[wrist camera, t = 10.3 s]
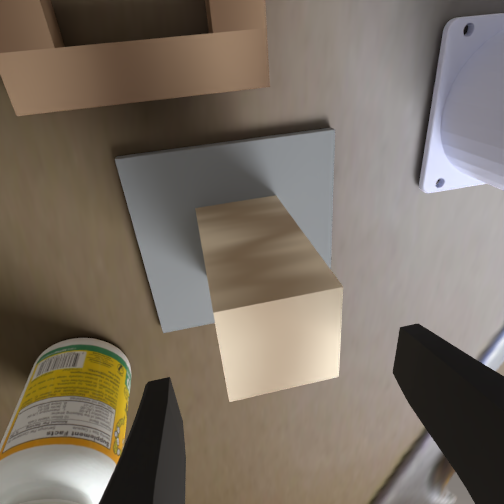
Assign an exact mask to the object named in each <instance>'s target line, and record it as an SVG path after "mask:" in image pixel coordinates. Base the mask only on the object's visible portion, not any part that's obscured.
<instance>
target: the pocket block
mask: <svg viewBox="0 0 504 504" xmlns="http://www.w3.org/2000/svg"><path fill="white" fill-rule="evenodd" d="M205 5H206V13H207V22H208V30H209V33H208V34H198V35H187V36H177V37H166V38H155V39H145V40H134V41H124V42H113V43H102V44H92V45H81V46H70V47H65V46H64V43H63V39H62V36H61V33H60V29H59V26H58V23H57V19H56V16H55V13H54V10H53V6H52V3H51V0H0V75H1V77H2V80H3V82H4V85H5V88H6V90H7V93H8V95H9V98H10V100H11V103H12V105H13V108H14V110H15V113H16V115H17V116H23V115H32V114H40V113H49V112H58V111H66V110H75V109H83V108H92V107H101V106H109V105H118V104H126V103H135V102H144V101H152V100H161V99H169V98H178V97H187V96H195V95H204V94H212V93H221V92H230V91H238V90H247V89H255V88H264V87H270V82H269V63H268V45H267V26H266V8H265V0H205Z"/></svg>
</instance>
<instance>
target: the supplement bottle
mask: <svg viewBox="0 0 504 504" xmlns="http://www.w3.org/2000/svg"><path fill="white" fill-rule="evenodd" d="M130 386H131V368H130V364H129V361H128V359H127V357H126V356H125V355H124V353H123V352H122V351H121V350H120V349H119V348H117V347H115V346H114V345H112V344H110V343H108V342H105V341H102V340H98V339H94V338H73V339H68V340H64V341H61V342H59V343H56V344H54V345H52V346H51V347H49V348H48V349H46V350H45V351H44V352H43V353H42V354H41V355H40V356H39V357H38V359H37V360H36V362H35V364H34V366H33V368H32V370H31V373H30V375H29V377H28V380H27V382H26V385H25V387H24V390H23V392H22V394H21V397H20V399H19V401H18V404H17V406H16V408H15V411H14V413H13V416H12V418H11V420H10V423H9V425H8V427H7V430H6V432H5V434H4V437H3V439H2V441H1V444H0V504H99V502H100V500H101V498H102V495H103V493H104V491H105V489H106V487H107V485H108V482H109V480H110V478H111V476H112V474H113V471H114V469H115V467H116V465H117V463H118V460H119V458H120V455H121V453H122V450H123V448H124V439H125V430H126V420H127V412H128V402H129V395H130Z"/></svg>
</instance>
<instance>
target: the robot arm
mask: <svg viewBox="0 0 504 504" xmlns="http://www.w3.org/2000/svg"><path fill="white" fill-rule="evenodd" d="M466 25H468V31H467V33H466V34H465V35H464V34H463V30H464V27H465V26H466ZM438 179H440V181H439V183H438V184H437V185H436V182H437V180H438ZM481 184H489V185H491V186H494V187H496V188H498V189H501V190H503V191H504V13H498V14H488V15H478V16H467V17H457V18H453V19H451V20H450V21H448V22H447V24H446V25H445V27H444V30H443V35H442V41H441V47H440V54H439V60H438V67H437V73H436V79H435V86H434V92H433V98H432V105H431V111H430V117H429V124H428V130H427V137H426V143H425V149H424V156H423V162H422V168H421V175H420V181H419V188H420V189H421V190H422V191H424V192H426V193H433V192H439V191H445V190H451V189H457V188H463V187H469V186H475V185H481ZM393 374H394V376H395V378H396V380H397V382H398V384H399V386H400V388H401V390H402V392H403V394H404V395H405V397H406V399H407V401H408V403H409V404H410V406H411V407H412V409H413V410H414V412H415V413H416V415H417V416H418V418H419V419H420V421H421V422H422V424H423V425H424V426H425V428H426V429H427V431H428V432H429V434H430V435H431V437H432V438H433V439H434V441H435V442H436V444H437V445H438V447H439V448H440V450H441V451H442V452H443V454H444V455H445V457H446V458H447V460H448V461H449V463H450V464H451V466H452V467H453V468H454V470H455V471H456V473H457V474H458V476H459V477H460V479H461V481H462V482H463V484H464V485H465V487H466V488H467V490H468V492H469V494H470V495H471V497H472V499H473V501H474V502H475V504H504V376H502V375H500V374H499V373H497V372H496V371H494V370H492V369H491V368H489V367H487V366H485V365H484V364H482V363H481V362H479V361H477V360H476V359H474V358H472V357H471V356H469V355H468V354H466V353H464V352H463V351H461V350H460V349H458V348H456V347H455V346H453V345H452V344H450V343H448V342H447V341H445V340H444V339H442V338H441V337H439V336H437V335H436V334H434V333H433V332H431V331H429V330H428V329H426V328H425V327H423V326H421V325H419V324H414V325H409V326H404V327H400V331H399V337H398V343H397V349H396V355H395V361H394V367H393ZM185 472H186V455H185V442H184V430H183V420H182V417H181V414H180V410H179V407H178V403H177V400H176V396H175V393H174V390H173V386H172V383H171V379H170V377H168V378H163V379H159V380H154V381H149V382H148V383H147V384H146V385H145V389H144V393H143V396H142V399H141V402H140V405H139V408H138V411H137V414H136V417H135V420H134V422H133V425H132V428H131V431H130V433H129V436H128V438H127V441H126V443H125V446H124V448H123V450H122V453H121V455H120V458H119V460H118V463H117V465H116V467H115V469H114V471H113V474H112V476H111V478H110V480H109V482H108V485H107V487H106V489H105V491H104V493H103V495H102V498H101V500H100V502H99V504H185Z"/></svg>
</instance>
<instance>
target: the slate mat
mask: <svg viewBox="0 0 504 504" xmlns="http://www.w3.org/2000/svg"><path fill="white" fill-rule="evenodd" d="M334 151H335V129H333V128H324V129H317V130H310V131H302V132H295V133H287V134H280V135H272V136H265V137H258V138H250V139H243V140H235V141H228V142H220V143H213V144H206V145H198V146H191V147H183V148H176V149H168V150H161V151H154V152H146V153H139V154H131V155H124V156H116V158H115V162H116V166H117V169H118V173H119V177H120V180H121V184H122V187H123V191H124V194H125V198H126V202H127V205H128V209H129V212H130V216H131V220H132V223H133V227H134V230H135V234H136V237H137V241H138V245H139V248H140V252H141V255H142V259H143V262H144V266H145V270H146V273H147V277H148V280H149V284H150V287H151V291H152V295H153V298H154V302H155V305H156V309H157V313H158V316H159V320H160V323H161V327H162V330H163V333H166V332H171V331H176V330H181V329H186V328H191V327H196V326H201V325H206V324H211V323H215V320H214V314H213V309H212V303H211V297H210V291H209V286H208V280H207V274H206V268H205V262H204V257H203V251H202V245H201V239H200V233H199V228H198V222H197V216H196V210H195V208H200V207H206V206H212V205H218V204H225V203H231V202H237V201H243V200H250V199H256V198H262V197H268V196H275V195H276V196H277V197H278V199H279V200H280V202H281V203H282V204H283V206H284V207H285V208H286V210H287V211H288V212H289V214H290V215H291V216H292V218H293V219H294V221H295V222H296V223H297V225H298V226H299V227H300V229H301V230H302V231H303V233H304V234H305V236H306V237H307V238H308V240H309V241H310V242H311V244H312V245H313V246H314V248H315V249H316V251H317V252H318V253H319V255H320V256H321V257H322V259H323V260H324V261H325V263H326V264H327V266H328V267H329V268H330V270H331V246H332V214H333V183H334Z"/></svg>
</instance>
